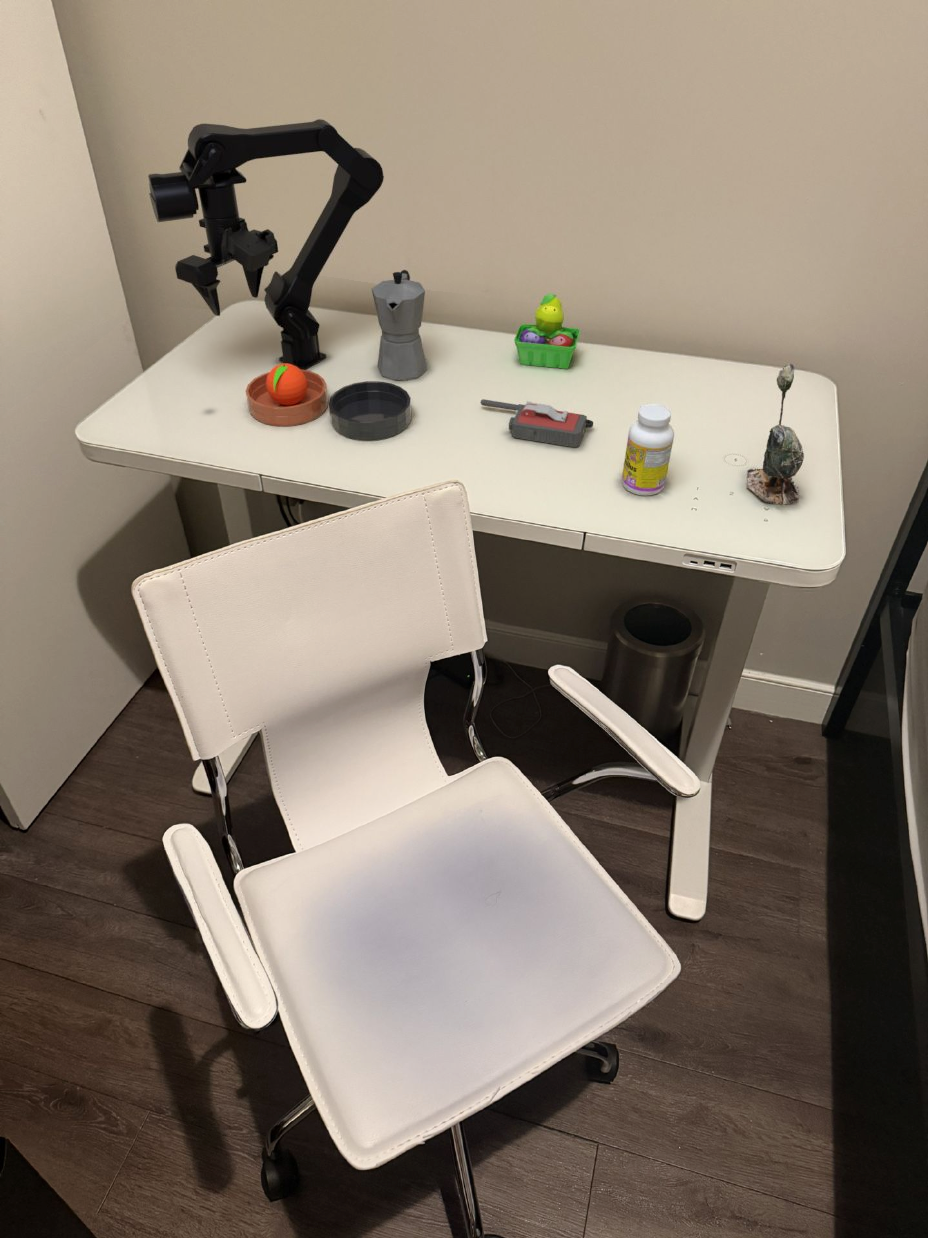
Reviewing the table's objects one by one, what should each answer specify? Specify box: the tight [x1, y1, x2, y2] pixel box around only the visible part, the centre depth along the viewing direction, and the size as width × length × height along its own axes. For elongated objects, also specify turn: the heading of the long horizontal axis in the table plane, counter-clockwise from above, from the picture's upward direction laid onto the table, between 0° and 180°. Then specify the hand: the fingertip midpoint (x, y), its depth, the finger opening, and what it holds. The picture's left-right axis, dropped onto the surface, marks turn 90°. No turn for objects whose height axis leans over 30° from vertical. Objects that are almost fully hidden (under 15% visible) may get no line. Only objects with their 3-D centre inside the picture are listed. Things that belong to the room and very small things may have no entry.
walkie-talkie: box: [479, 399, 594, 448], centre depth 148 cm, size 9×4×20 cm
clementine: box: [266, 362, 307, 405], centre depth 152 cm, size 8×7×7 cm
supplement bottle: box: [621, 403, 675, 496], centre depth 133 cm, size 7×7×13 cm
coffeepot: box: [371, 269, 428, 382], centre depth 159 cm, size 15×9×18 cm, turn 174°
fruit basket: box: [514, 293, 581, 370], centre depth 164 cm, size 11×9×11 cm
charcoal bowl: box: [328, 380, 412, 442], centre depth 150 cm, size 14×14×4 cm
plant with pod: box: [746, 363, 805, 505], centre depth 129 cm, size 8×11×20 cm
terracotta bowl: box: [245, 369, 329, 427], centre depth 154 cm, size 14×14×4 cm
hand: (236, 305), depth 156 cm, fingers open, 9 cm apart
